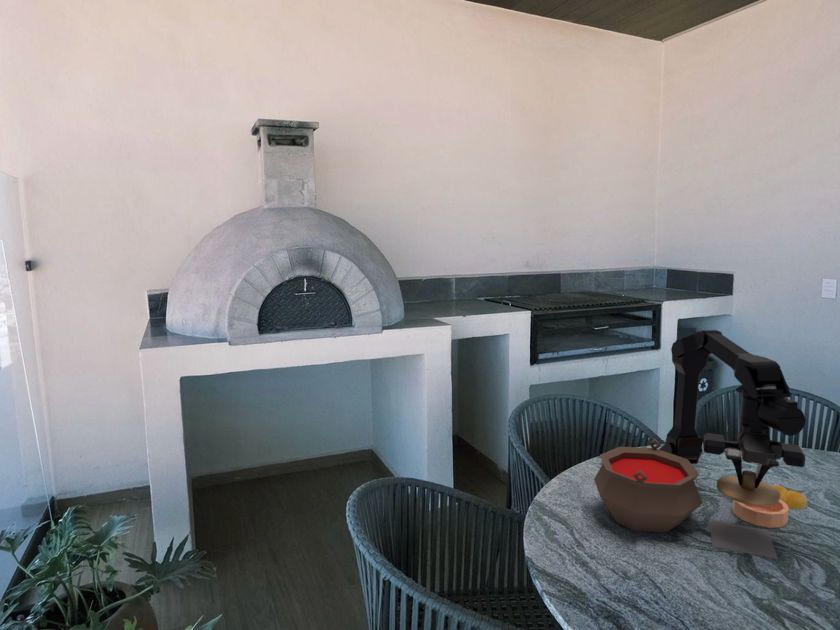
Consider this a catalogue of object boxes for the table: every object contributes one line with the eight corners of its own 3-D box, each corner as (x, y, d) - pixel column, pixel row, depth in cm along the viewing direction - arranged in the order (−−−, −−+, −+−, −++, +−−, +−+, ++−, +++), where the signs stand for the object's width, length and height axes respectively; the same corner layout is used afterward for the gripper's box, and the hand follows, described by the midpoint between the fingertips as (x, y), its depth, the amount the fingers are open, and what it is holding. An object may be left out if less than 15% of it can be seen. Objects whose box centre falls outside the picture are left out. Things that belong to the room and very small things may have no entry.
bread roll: (800, 516, 138) (802, 500, 137) (759, 502, 144) (761, 487, 144) (811, 505, 143) (813, 490, 142) (771, 492, 150) (773, 478, 149)
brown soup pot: (603, 487, 152) (606, 427, 150) (704, 509, 141) (709, 445, 138) (579, 528, 132) (582, 461, 129) (695, 559, 120) (701, 485, 117)
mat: (712, 549, 124) (712, 545, 123) (708, 522, 134) (709, 519, 134) (777, 562, 119) (777, 558, 119) (768, 533, 130) (768, 530, 130)
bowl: (735, 524, 134) (736, 508, 133) (730, 503, 144) (732, 488, 143) (790, 534, 129) (792, 518, 129) (782, 511, 139) (783, 496, 139)
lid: (718, 499, 123) (720, 479, 122) (715, 476, 134) (716, 457, 133) (783, 510, 118) (786, 490, 118) (774, 485, 129) (777, 467, 128)
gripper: (708, 424, 120) (701, 494, 122) (814, 438, 112) (805, 512, 115) (705, 407, 130) (700, 472, 132) (803, 419, 122) (795, 488, 125)
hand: (747, 486), depth 126 cm, fingers closed on lid, 3 cm apart
